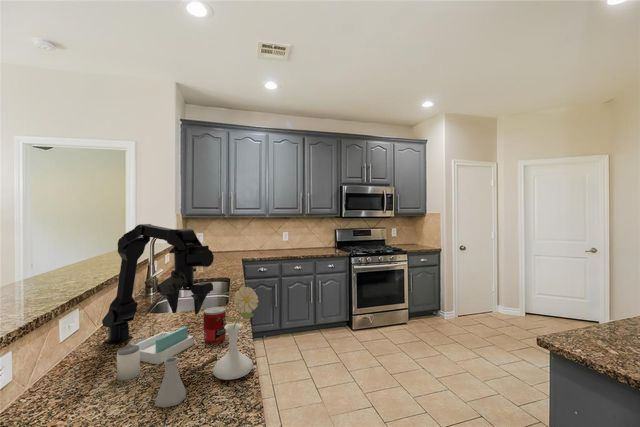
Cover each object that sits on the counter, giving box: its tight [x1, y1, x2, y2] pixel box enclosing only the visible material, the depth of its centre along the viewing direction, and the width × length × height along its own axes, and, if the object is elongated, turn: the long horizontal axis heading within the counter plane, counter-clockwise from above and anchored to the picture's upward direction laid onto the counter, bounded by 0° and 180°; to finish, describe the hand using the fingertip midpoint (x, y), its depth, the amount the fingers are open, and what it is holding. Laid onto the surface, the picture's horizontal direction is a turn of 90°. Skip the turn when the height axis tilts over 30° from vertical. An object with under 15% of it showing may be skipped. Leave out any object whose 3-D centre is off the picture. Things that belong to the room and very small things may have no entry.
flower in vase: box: [212, 286, 259, 381], centre depth 86 cm, size 13×11×25 cm
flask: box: [154, 356, 187, 409], centre depth 74 cm, size 7×7×10 cm
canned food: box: [203, 306, 227, 344], centre depth 110 cm, size 8×8×11 cm
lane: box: [133, 331, 194, 365], centre depth 101 cm, size 17×15×3 cm
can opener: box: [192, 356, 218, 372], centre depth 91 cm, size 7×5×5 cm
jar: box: [116, 344, 141, 382], centre depth 85 cm, size 6×6×8 cm
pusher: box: [156, 325, 189, 353], centre depth 99 cm, size 1×12×6 cm, turn 161°
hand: (185, 313), depth 98 cm, fingers open, 9 cm apart
